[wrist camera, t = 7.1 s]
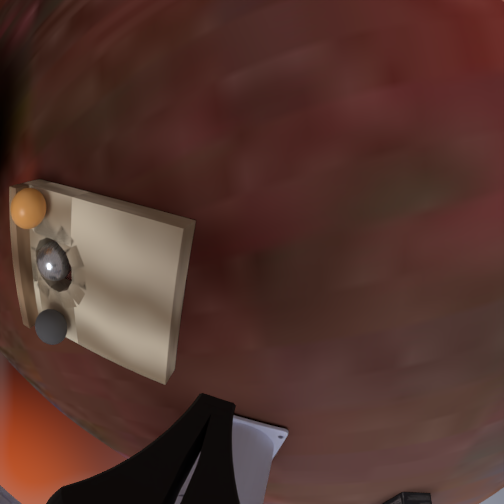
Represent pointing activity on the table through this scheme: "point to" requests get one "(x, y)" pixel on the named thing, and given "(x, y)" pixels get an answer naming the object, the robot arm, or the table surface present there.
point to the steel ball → (53, 262)
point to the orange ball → (28, 208)
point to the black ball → (51, 326)
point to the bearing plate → (108, 275)
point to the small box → (410, 498)
